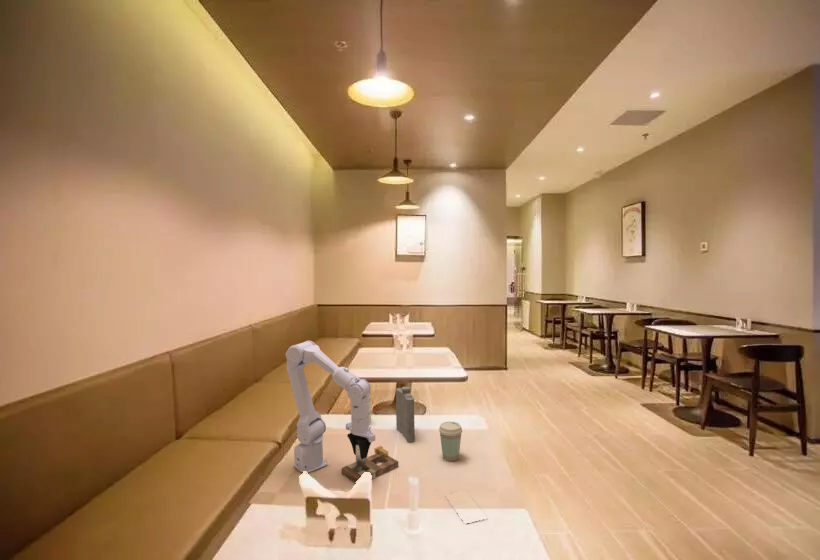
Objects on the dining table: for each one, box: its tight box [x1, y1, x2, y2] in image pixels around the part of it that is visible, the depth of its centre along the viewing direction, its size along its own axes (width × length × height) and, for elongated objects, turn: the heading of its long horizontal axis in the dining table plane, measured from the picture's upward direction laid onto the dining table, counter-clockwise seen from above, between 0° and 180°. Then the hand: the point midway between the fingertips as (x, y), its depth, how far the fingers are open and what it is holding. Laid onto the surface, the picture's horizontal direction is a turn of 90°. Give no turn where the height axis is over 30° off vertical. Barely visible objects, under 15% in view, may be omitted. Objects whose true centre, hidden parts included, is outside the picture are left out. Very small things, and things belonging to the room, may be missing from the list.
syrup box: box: [366, 391, 372, 426], centre depth 181 cm, size 6×6×14 cm
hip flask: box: [395, 386, 416, 444], centre depth 169 cm, size 16×4×20 cm, turn 21°
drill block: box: [341, 453, 399, 484], centre depth 141 cm, size 17×10×2 cm, turn 132°
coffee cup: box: [438, 421, 463, 462], centre depth 149 cm, size 8×8×12 cm
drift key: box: [374, 445, 389, 457], centre depth 148 cm, size 3×5×2 cm, turn 42°
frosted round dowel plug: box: [355, 443, 367, 467], centre depth 138 cm, size 3×3×7 cm
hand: (360, 455), depth 138 cm, fingers closed on frosted round dowel plug, 3 cm apart
